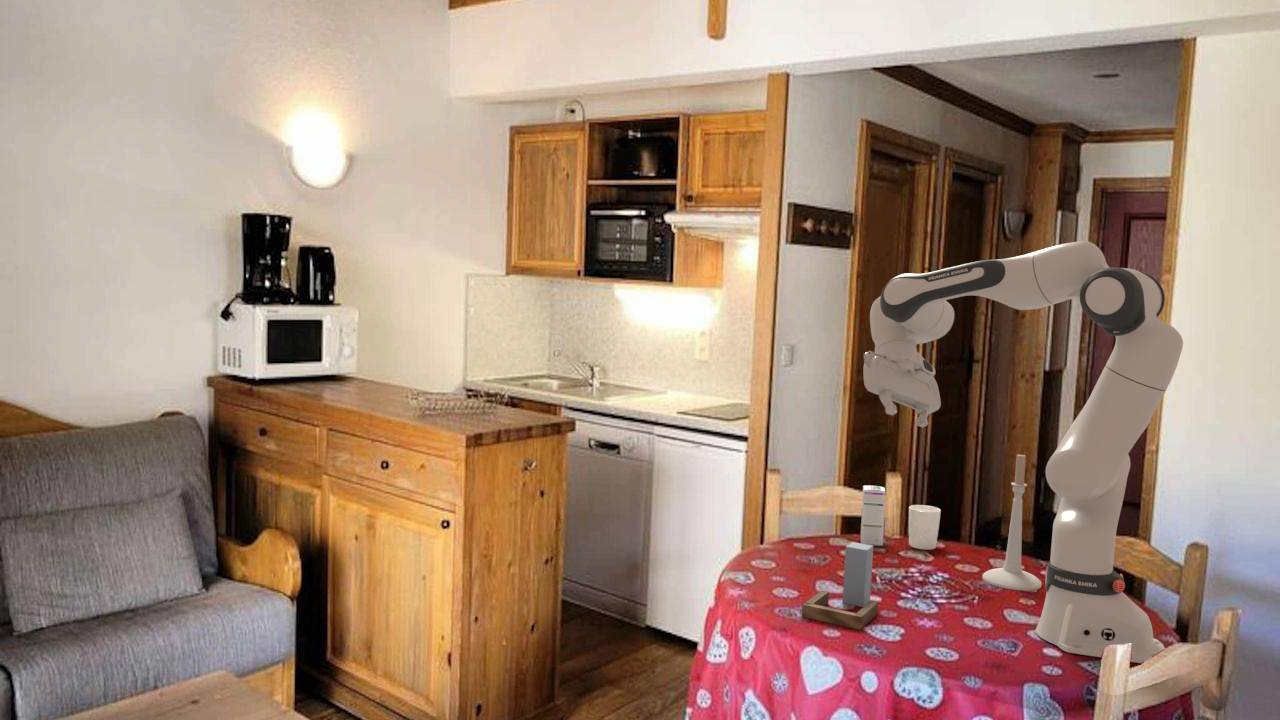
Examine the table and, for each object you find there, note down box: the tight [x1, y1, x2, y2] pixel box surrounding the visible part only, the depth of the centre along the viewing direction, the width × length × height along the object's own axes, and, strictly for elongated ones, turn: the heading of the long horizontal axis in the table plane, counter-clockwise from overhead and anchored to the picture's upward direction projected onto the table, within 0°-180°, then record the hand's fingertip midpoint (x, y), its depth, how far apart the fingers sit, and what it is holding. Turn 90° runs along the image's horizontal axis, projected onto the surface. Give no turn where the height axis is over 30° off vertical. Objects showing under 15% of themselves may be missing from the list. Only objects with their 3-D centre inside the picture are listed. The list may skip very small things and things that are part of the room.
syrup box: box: [860, 485, 886, 547], centre depth 256 cm, size 6×6×14 cm
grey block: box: [842, 541, 874, 608], centre depth 207 cm, size 4×4×12 cm
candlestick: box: [981, 453, 1043, 592], centre depth 225 cm, size 13×13×30 cm
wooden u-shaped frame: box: [801, 589, 879, 631], centre depth 198 cm, size 12×11×2 cm
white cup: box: [908, 504, 942, 551], centre depth 254 cm, size 8×8×10 cm
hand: (907, 419), depth 204 cm, fingers open, 8 cm apart
